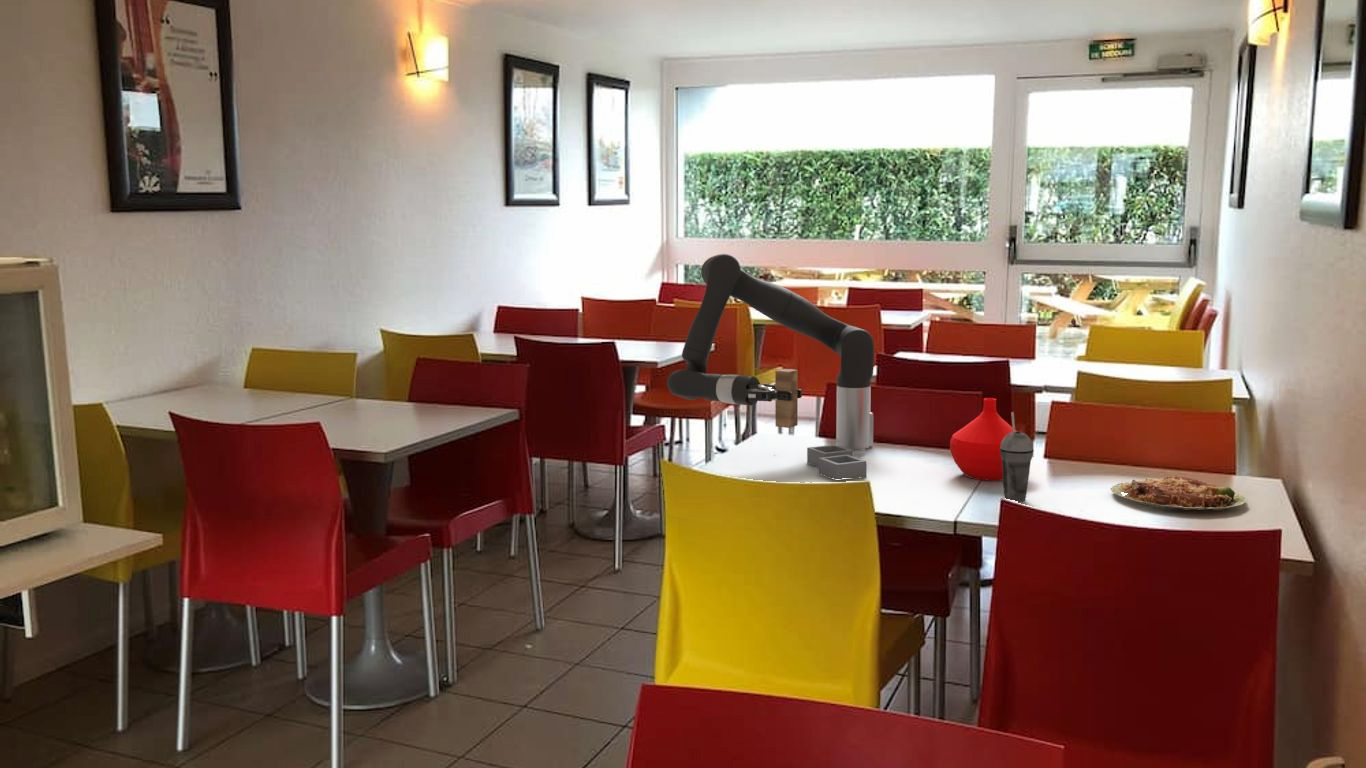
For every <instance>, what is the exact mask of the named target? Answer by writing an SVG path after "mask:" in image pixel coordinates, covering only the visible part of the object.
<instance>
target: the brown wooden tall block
mask: <svg viewBox="0 0 1366 768" xmlns="http://www.w3.org/2000/svg"><path fill="white" fill-rule="evenodd" d="M798 371H799V369H792V368H789V369H788V368H781V369H777V370H775V374H774V375H775V380H774V381H775V383H774V384H775V390H778V391H788V392H792V393H793V400H791V401H785V400H777V401H775V400H774V401H775V408H774V409H775V428H776V427H777V428H787V429H790V428H793V427H797V426H799V425H798V423H799V422H798V418H799V417H798V409H799V408H798V407H799V405H798V403H799V402H798V399H799V398H797V389H799V388H798V386H799V385H798V380H799V379H798Z"/></svg>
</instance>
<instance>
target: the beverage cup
mask: <svg viewBox="0 0 1366 768" xmlns="http://www.w3.org/2000/svg"><path fill="white" fill-rule="evenodd" d="M1014 413H1015V412H1014V411H1012V412H1010V414H1011V415H1010V416H1011V427H1013V432H1011V433H1009V434H1007V435H1006V436H1005V437H1004V438H1003V440H1002V442H1001V447H1000V453H1001V458H1002V471H1003V480H1002V486H1003V496H1004V498H1006V499H1010V500H1015V501H1018V502H1022V503H1025V502H1026V497H1027V493H1028V485H1029V479H1030V478H1029V477H1030V469H1031V461H1032V458H1033V454H1034V445H1033V442H1032V439H1031V438H1030V437H1029V435H1027V434H1026V433H1024V432H1022V431H1018V432H1015V430H1016V426H1015V425H1016V424H1015V414H1014Z"/></svg>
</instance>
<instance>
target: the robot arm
mask: <svg viewBox="0 0 1366 768" xmlns="http://www.w3.org/2000/svg"><path fill="white" fill-rule="evenodd" d="M700 271H701V272H700V275H701V278H702V280H703V282H704V283H705V284H706V287H705V292H704V295H703V298H702V302H701V304H700V307H699V309H698V311H697V313H696V315H695V318H694V319H693V321H692V323H691V326H690V327H689V330H688V333H687V336H686V339H685V342H684V345H683V349H682V352H681V359H683V360H684V362H685V363H686V364H685V365H686V367H685V369H678V370H674V371H672V373H670V374H669V375H668V377H667V381H666V384H667V389H668V390H669V391H670V393H671V394H672V395H674V396H677V397H679V398H682V399H685V400H688V401H694V400H696V399H698V398H700V399H704V400H706V401H710V402H711V401H712V402H722V403H726V404H732V405H740V406H741V405H742V406H754V405H756V404H757V403H758V402H772V401H777V400H785V401H791V400H793V393H792V392H788V391H778V390H775V383H773V384H770V383H768V382H766V383H765V382H764V383H762V384H761V383H760V380H759V379H758V378H757V377H756V376H755V375H754V376H753V375H744V374H743V375H741V374H719V373H707V371H708V366H707V365H708V359H709V356H710V353H711V350H712V347H713V343H714V340H715V337H716V335H717V334H716V333H717V331H718V327H719V324H720V323H721V322H720V321H721V319H722V316H723V313H724V311H725V308H726V306H727V303H728V301H729V298H730V297H733V298H735V299H737V300H739V301H741V302H743V303H745V304H746V305H748V306H750V307H751V308H752V309H754V310H755V311H758V312H759V313H761V314H762V315H764V316H766V317H767V318H769V319H771V320H773V322H776V323H778V324H779V325H781V326H784V327H785V328H787V329H789V330H791V331H793V332H797V333H799V334H802V335H804V336H807V337H810V338H812V339H814V340H816V341H818V342H820V343H821V344H822V345H825V346H826V347H828V348H829V349H830V350H832V351H833V352H834V353H836V354H837V355H839V356H840V371H839V373H838V374H837V376H836V423H835V425H836V433H835V435H836V436H835V442H836V443H835V445H838V446H841V447H844V448H847V449H850V450H853V451H860V449H862V450H866V449H865V448H867V449H869V448H868V447H869V446H872V445H873V446H874V413H873V412H871V399H872V398H871V389H872V388H871V386H872V385H871V384H872V383H871V382H872V379H873V378H872V377H873V375H874V365H875V364H874V363H875V358H874V357H875V344H874V343H875V342H874V339H873V337H872V335H871V333H870V332H868V331H867V330H865V329H862V328H860V327H857V326H854V325H853V326H852V325H850V324H847V323H844V322H842V321H840V320H837V319H835V318H833V317H831V316H829V315H828V314H826V313H824V312H823V311H822V310H821V309H820V308H818V307H817V306H816V305H815V304H813V303H812V302H810V300H808V299H806V298H805V297H803V296H801V295H799V294H798V293H796V292H794V291H792V290H790V289H788V288H786V287H783V286H781V285H779V284H775V283H774V282H773V283H772V282H769V281H766V280H765V279H761V278H757V277H755V276H753V275H752V274H749V273H747V272H746V271H744V270H743V269H741V266H740V262H739V261H738V259H737V258H736V257H734V256H733V255H731V254H729V253H721V254H716V255H713V256H711V257H708V258H707V259H706V260H705V261H704V262H703V264H702V266H701V269H700ZM802 397H803V390H802V389H800V388H798V389H797V398H798V399H801V398H802Z"/></svg>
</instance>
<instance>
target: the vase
mask: <svg viewBox="0 0 1366 768" xmlns="http://www.w3.org/2000/svg"><path fill="white" fill-rule="evenodd" d="M1011 432H1013V427H1012V425H1010V424H1009V423H1008V422H1007V421H1006V420H1004V419H1003V418H1002V417H1001V416H1000V414H999V413H998V412H997V398H993V397H985V398H983V409H982V412H981V413H980V414H979V415H978V416H977V417H976V418H974V419H973V420H972V421H970V422H969V423H967V424H966V425H965V426H963V427H962V428H960V429H959V430H957V431H956V432H954V433H953V434H952V436H951V439H950V442H949V451H950V453H951V457H952V458H953V461H954V463H955V464H956V466H957V467H958V469H959V470H960V471H961V472H962V473H963V474H964V475H965V476H967V477H968V478H972V479H974V480H981V481H991V482H993V481H1003V471H1002V458H1001V453H1000V447H1001V442H1002V440H1003V438H1004V437H1005V436H1006V435H1007V434H1009V433H1011ZM1015 432H1019V431H1018V430H1016V429H1015Z"/></svg>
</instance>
